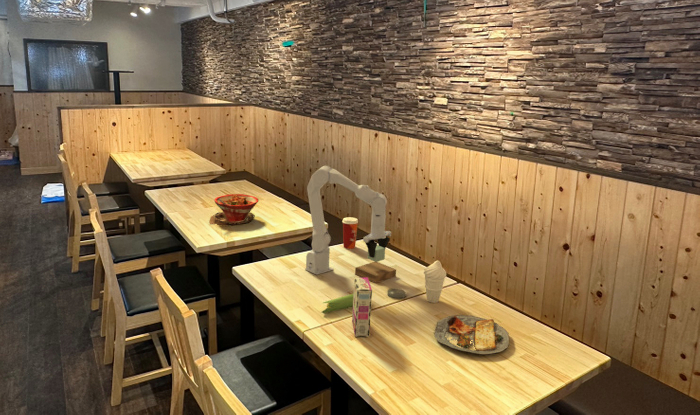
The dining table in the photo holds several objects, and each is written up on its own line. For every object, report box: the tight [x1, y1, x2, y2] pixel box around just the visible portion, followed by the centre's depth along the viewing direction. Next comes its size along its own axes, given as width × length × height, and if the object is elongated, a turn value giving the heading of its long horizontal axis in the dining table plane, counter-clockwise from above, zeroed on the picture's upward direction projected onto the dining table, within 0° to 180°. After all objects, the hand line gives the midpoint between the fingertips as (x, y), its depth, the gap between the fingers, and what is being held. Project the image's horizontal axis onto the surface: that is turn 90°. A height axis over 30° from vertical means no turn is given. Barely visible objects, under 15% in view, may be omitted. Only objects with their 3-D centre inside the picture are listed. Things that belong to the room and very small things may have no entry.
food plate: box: [433, 314, 510, 355], centre depth 173 cm, size 25×23×4 cm
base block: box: [354, 261, 397, 284], centre depth 222 cm, size 12×12×3 cm
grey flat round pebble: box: [386, 288, 407, 300], centre depth 204 cm, size 7×7×2 cm
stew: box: [208, 193, 259, 226], centre depth 290 cm, size 28×24×16 cm
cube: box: [367, 244, 386, 263], centre depth 221 cm, size 5×5×5 cm
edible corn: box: [321, 292, 354, 314], centre depth 191 cm, size 5×20×5 cm
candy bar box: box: [351, 276, 373, 338], centre depth 174 cm, size 11×5×16 cm, turn 5°
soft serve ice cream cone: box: [423, 260, 447, 304], centre depth 199 cm, size 8×8×16 cm
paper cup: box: [341, 216, 359, 250], centre depth 255 cm, size 8×8×14 cm
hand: (376, 255), depth 221 cm, fingers closed on cube, 5 cm apart
